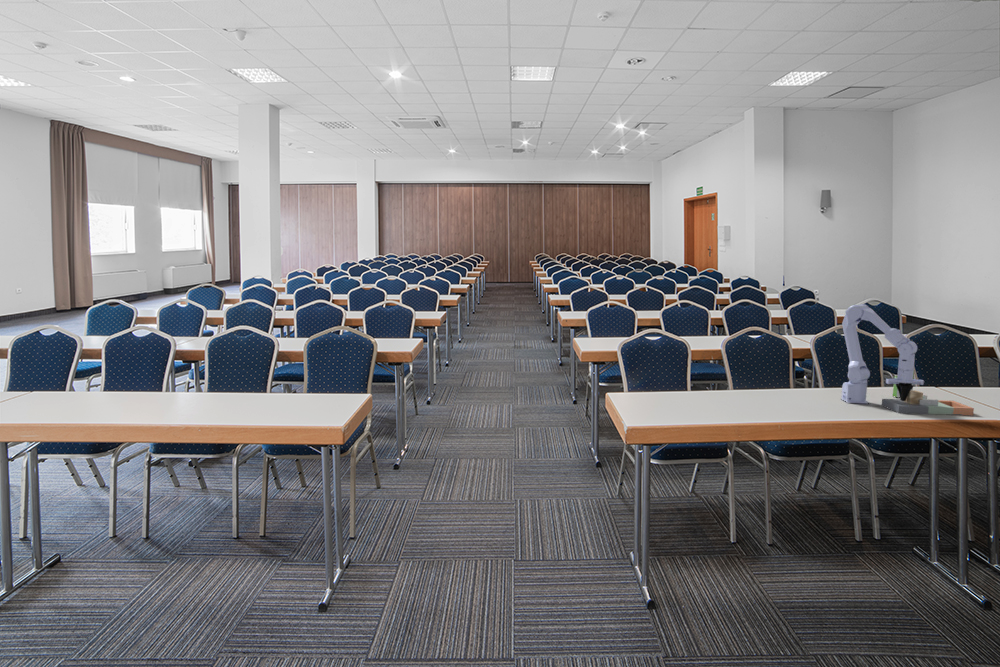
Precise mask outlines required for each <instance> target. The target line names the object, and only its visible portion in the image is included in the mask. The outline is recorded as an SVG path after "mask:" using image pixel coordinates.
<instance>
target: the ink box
mask: <svg viewBox="0 0 1000 667" xmlns="http://www.w3.org/2000/svg"><path fill="white" fill-rule="evenodd" d="M895 378H897V375H894V378H893V379H895ZM913 379H915V371H914V372H913ZM901 383H904V382H901ZM912 385H913V386H914V384H912ZM913 389H914V387H913V388H912V389H911V390H913ZM893 396H895V397H900V395H899V391H898V389H897V387H896V384H893V387H892V397H893ZM895 397H894V398H895Z"/></svg>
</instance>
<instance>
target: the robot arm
mask: <svg viewBox="0 0 1000 667" xmlns="http://www.w3.org/2000/svg"><path fill="white" fill-rule="evenodd" d="M844 313H845V314H844V317H843V320H842V323H841V326H842V330H843V334H844V340H845V341H844V342H845V345H846V348H847V349H846V351H847V354H848V360H849V364H848V365H847V366H848V367H847V369H848V372H847V378H848V381H847V382H845V381H844V382H843V383H842V386H841V387H842V388H841V397H840V400H841V399H842V400H841V401H843V400H844V402H845V401H846V402H845V403H847V404H868V403H869V404H871V403H870V402H869V401H867V392H868V391H867V390H868V379H869V378H870V376H871V372H870V369H869V368H868V367H867V364H866V362H865V361H864V358H863V354H862V350H861V345H860V339H859V335H858V331H857V330H858V329H857V325H859V323H860V322H861V321H867V322H871V323H872V324H873V325H874V326H875V327H876V328H877V329H879V330H880V331H881V332H883V334H884V338H885V339H886V341H888V342H889V343H890V344H891V345H893V347H895V348H896V349H897V352H898V354H899V356H898V364H897V365H898V366H897V375H896V376H897V378H895V379H894V378H885V384H887V385H892V384H893V385H894V384H896V387H897V389H898V391H899V395H900V398H899V399H900V400H901V401H906V398H907V396H908V394H909V392H910V391H911V389H912V388H913V389H914V385H920V386H921V385H922V386H924V384H925V383H924V382H925V380H923V379H915V378H914V379H913V372H914V373H915V370H914V369H915V360H916V359H915V358H916V357H915V356H916V353H917V351H918V345H917V343H915V341H912V340H911V339H910V338H909V337H906V336H905V335H904V334H903V333H902V330H901V329H898V328H896V327H895V328H892V327H891V326H889V325H888V323H887V322H885V321H884V319H882V318H881V317H880V316H879V315H878V314H877V313H876V311H874V310H873V309H872V308H870V307H869V305H867V304H865V303H861V304H853V305H850V306H849V307H847V309H846V310H845V312H844ZM901 382H904V383H901ZM912 384H913V385H912Z"/></svg>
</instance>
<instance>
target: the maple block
mask: <svg viewBox="0 0 1000 667" xmlns="http://www.w3.org/2000/svg"><path fill="white" fill-rule="evenodd" d="M923 395H924V392H921V391H919V390H911V391H910V392H909V394H908V396H907V398H906V401H904V402H906V403H908V404H918V399H923Z"/></svg>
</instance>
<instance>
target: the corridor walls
mask: <svg viewBox="0 0 1000 667" xmlns="http://www.w3.org/2000/svg"><path fill="white" fill-rule="evenodd" d="M939 400H940V399H933V398H932V399H928V395H924V394H923V399H918V405H919V406H938V401H939Z"/></svg>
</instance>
